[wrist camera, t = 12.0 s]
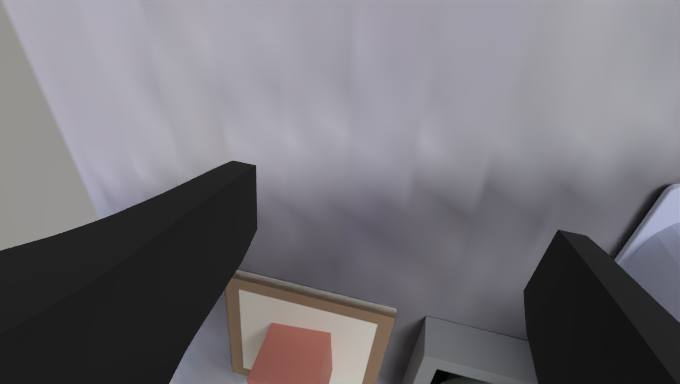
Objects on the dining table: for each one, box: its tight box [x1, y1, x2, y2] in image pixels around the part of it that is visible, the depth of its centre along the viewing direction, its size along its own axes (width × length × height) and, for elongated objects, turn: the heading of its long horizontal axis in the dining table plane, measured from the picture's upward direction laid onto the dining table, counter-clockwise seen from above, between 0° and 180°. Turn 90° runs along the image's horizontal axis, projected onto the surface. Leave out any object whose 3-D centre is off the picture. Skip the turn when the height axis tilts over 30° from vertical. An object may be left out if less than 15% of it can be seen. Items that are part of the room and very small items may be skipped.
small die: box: [247, 323, 333, 384], centre depth 28 cm, size 4×4×5 cm
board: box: [225, 270, 396, 384], centre depth 30 cm, size 12×12×1 cm
